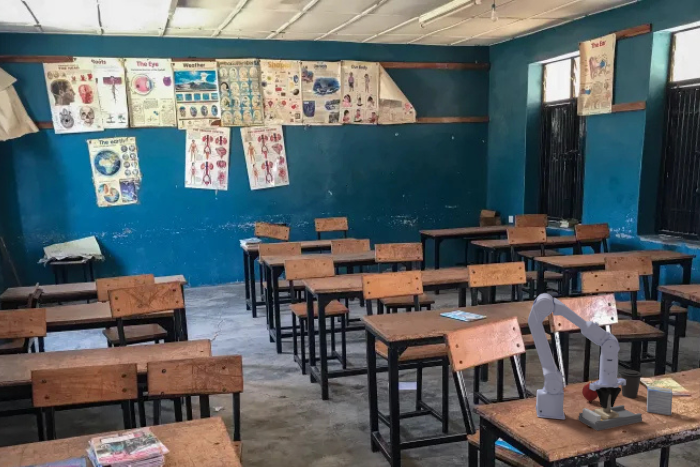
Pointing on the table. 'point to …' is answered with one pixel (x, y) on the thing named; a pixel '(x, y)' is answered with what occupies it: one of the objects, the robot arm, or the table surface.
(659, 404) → the medicine box
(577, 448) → the table surface
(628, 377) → the coffee cup
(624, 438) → the table surface
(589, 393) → the onion
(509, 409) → the table surface
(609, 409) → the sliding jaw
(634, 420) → the rail base
